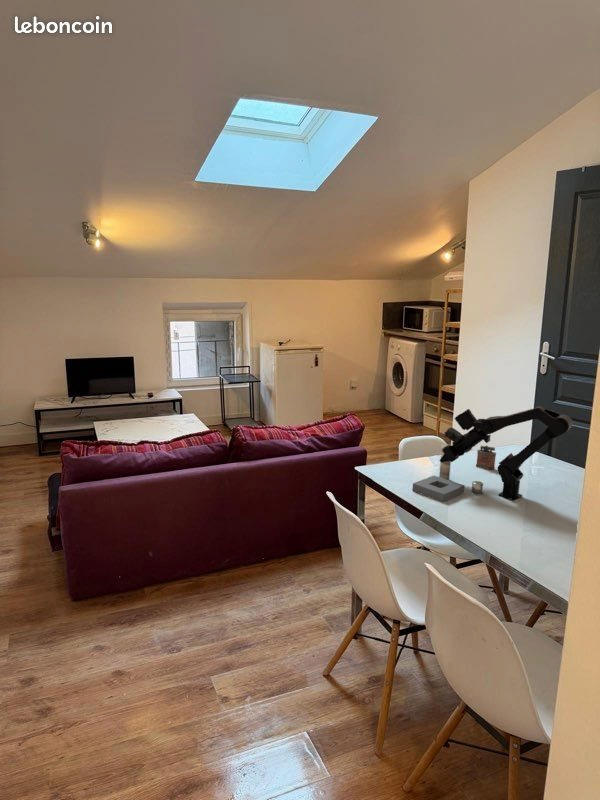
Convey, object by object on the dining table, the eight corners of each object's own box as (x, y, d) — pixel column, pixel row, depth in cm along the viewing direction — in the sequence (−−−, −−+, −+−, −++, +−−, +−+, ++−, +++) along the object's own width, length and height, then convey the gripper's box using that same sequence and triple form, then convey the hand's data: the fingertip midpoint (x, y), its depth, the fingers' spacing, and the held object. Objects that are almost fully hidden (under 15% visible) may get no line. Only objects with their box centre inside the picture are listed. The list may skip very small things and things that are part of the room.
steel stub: (474, 489, 206) (475, 480, 205) (484, 492, 203) (485, 483, 202) (469, 492, 203) (470, 482, 202) (478, 495, 200) (479, 485, 200)
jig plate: (433, 482, 213) (434, 475, 212) (464, 492, 203) (464, 485, 202) (412, 490, 204) (412, 483, 203) (443, 501, 194) (443, 494, 193)
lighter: (474, 467, 232) (476, 445, 230) (477, 464, 235) (479, 443, 233) (493, 470, 228) (495, 448, 226) (495, 468, 231) (497, 446, 228)
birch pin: (442, 475, 219) (445, 443, 216) (451, 478, 216) (453, 446, 213) (437, 478, 216) (439, 445, 213) (445, 480, 213) (448, 447, 210)
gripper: (466, 418, 216) (439, 439, 225) (448, 427, 201) (420, 449, 210) (484, 440, 213) (455, 460, 222) (467, 451, 198) (437, 472, 207)
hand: (442, 460), depth 215 cm, fingers closed on birch pin, 4 cm apart
